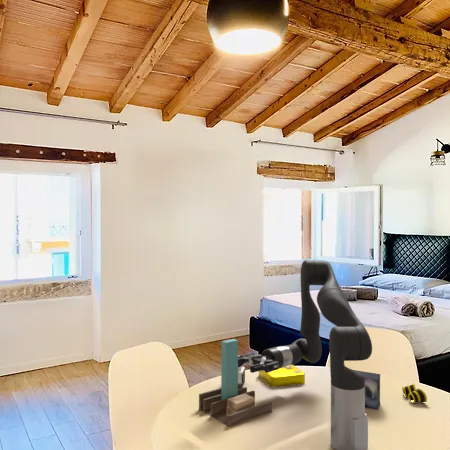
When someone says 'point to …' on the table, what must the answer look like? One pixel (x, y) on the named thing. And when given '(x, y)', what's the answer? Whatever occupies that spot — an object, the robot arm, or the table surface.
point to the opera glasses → (414, 393)
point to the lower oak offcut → (230, 411)
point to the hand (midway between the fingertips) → (242, 366)
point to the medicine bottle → (241, 373)
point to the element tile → (283, 376)
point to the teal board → (229, 369)
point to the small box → (371, 390)
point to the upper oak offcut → (240, 402)
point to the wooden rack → (217, 407)
